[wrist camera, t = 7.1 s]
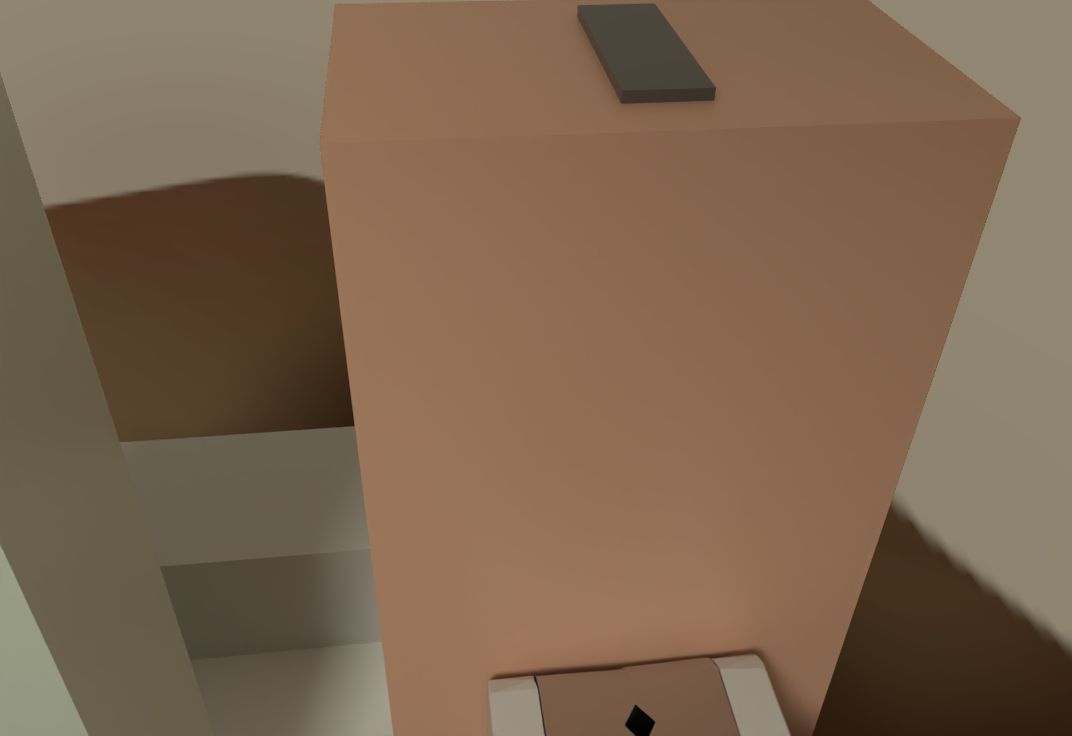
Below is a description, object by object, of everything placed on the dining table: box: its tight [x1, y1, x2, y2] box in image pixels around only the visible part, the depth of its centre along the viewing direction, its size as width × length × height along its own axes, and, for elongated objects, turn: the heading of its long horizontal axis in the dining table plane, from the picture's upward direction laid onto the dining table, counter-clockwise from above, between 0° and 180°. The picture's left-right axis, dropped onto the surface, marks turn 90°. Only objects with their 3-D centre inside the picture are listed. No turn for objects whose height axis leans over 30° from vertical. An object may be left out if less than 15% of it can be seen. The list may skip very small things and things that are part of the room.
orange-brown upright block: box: [320, 0, 1021, 736], centre depth 12 cm, size 5×3×12 cm, turn 97°
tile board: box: [120, 426, 393, 736], centre depth 17 cm, size 15×10×4 cm, turn 97°
